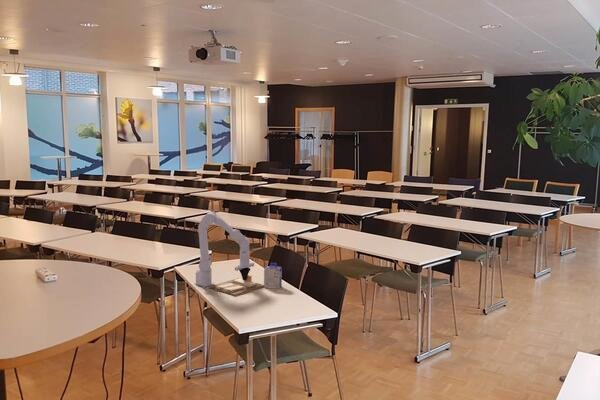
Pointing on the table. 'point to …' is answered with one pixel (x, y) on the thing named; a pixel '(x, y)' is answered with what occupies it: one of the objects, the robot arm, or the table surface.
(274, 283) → the ink cartridge box
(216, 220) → the robot arm
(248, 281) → the stub
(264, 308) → the table surface
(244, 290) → the board
